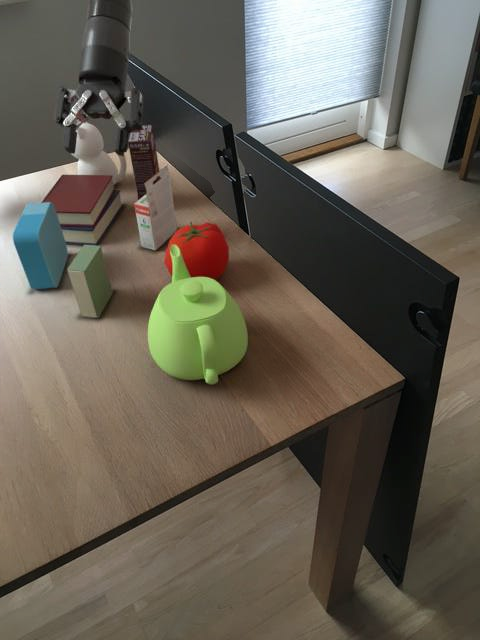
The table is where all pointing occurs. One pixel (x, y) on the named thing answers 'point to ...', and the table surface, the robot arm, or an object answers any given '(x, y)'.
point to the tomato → (200, 250)
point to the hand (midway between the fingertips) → (94, 153)
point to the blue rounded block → (41, 245)
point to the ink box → (156, 212)
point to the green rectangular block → (90, 281)
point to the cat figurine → (95, 155)
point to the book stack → (85, 206)
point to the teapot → (195, 326)
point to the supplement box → (143, 157)
